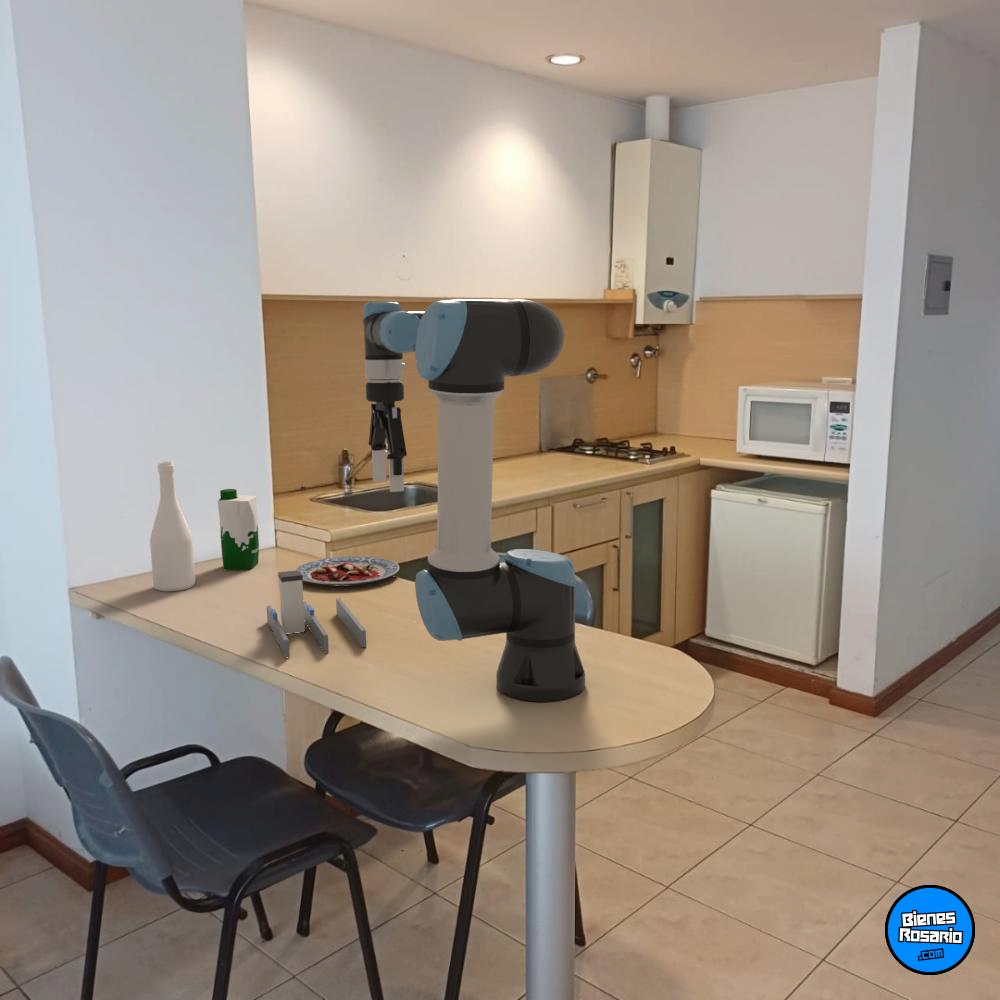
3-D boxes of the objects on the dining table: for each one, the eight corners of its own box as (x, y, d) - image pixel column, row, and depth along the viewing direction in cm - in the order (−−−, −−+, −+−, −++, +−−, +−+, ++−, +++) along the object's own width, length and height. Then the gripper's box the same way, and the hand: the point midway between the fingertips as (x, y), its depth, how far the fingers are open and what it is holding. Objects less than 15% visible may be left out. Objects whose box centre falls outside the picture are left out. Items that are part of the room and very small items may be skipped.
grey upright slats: (366, 647, 185) (365, 625, 185) (285, 658, 180) (284, 635, 179) (340, 613, 208) (339, 593, 207) (267, 622, 202) (266, 601, 201)
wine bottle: (151, 585, 232) (141, 461, 227) (192, 579, 236) (183, 458, 231) (156, 594, 224) (146, 466, 218) (199, 589, 228) (190, 463, 223)
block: (305, 632, 195) (302, 575, 193) (284, 635, 193) (281, 577, 191) (301, 626, 199) (299, 570, 197) (281, 629, 197) (278, 572, 195)
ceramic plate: (317, 598, 220) (317, 585, 220) (278, 574, 242) (277, 562, 241) (417, 581, 234) (417, 569, 233) (372, 560, 255) (372, 549, 255)
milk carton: (228, 562, 253) (224, 487, 250) (263, 562, 253) (258, 487, 250) (218, 570, 245) (213, 493, 241) (254, 570, 245) (249, 493, 241)
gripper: (420, 383, 182) (423, 494, 186) (386, 377, 205) (390, 476, 209) (382, 385, 180) (385, 497, 183) (352, 378, 203) (356, 478, 206)
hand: (388, 486), depth 196 cm, fingers open, 13 cm apart
